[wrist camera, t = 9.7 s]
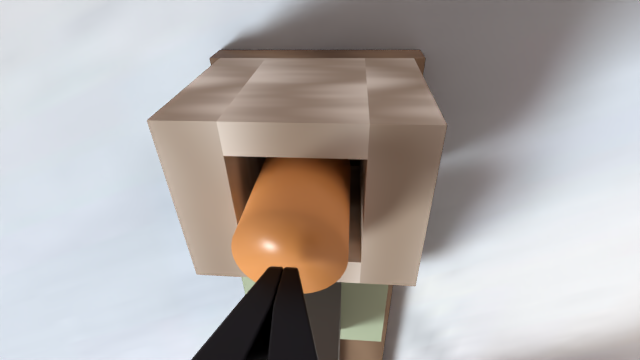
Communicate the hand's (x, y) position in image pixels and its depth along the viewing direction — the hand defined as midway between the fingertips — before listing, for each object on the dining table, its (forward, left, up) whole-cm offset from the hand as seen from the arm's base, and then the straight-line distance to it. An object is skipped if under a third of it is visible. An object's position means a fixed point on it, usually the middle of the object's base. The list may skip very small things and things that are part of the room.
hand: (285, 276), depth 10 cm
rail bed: (0, +11, -11) cm, 16 cm away
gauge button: (0, 0, -6) cm, 6 cm away
